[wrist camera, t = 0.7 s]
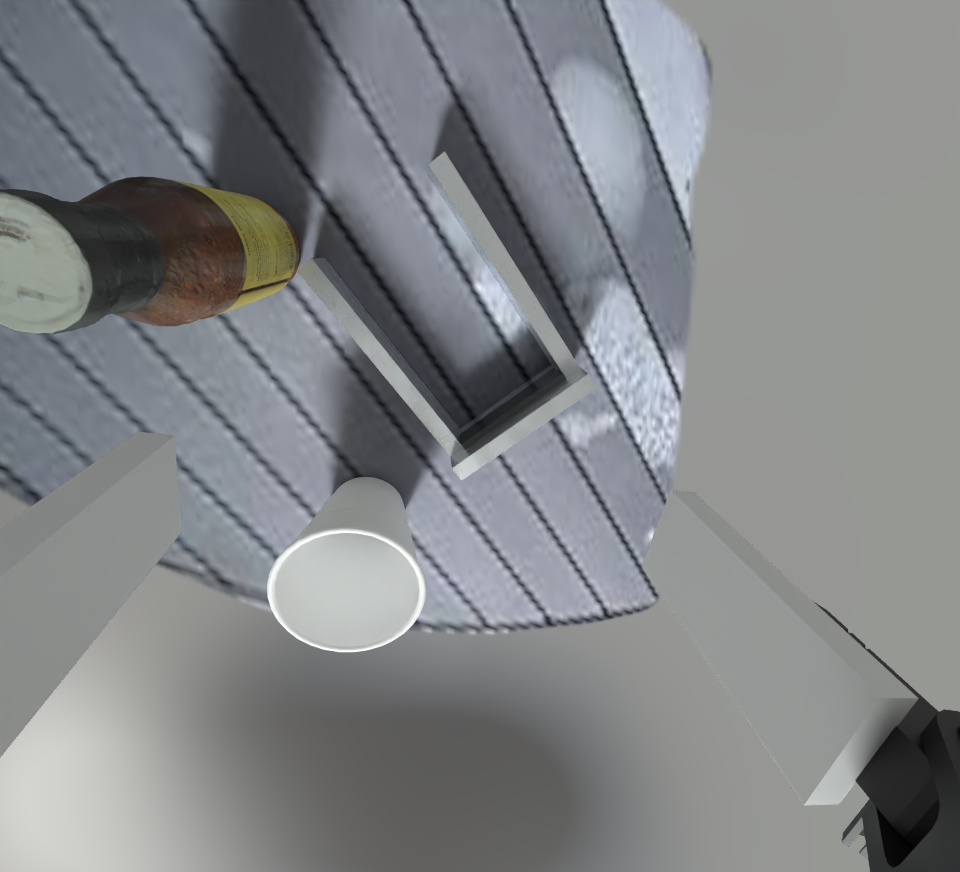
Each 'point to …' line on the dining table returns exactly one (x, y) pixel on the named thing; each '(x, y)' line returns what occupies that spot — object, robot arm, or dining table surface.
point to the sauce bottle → (138, 255)
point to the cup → (350, 572)
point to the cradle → (462, 444)
